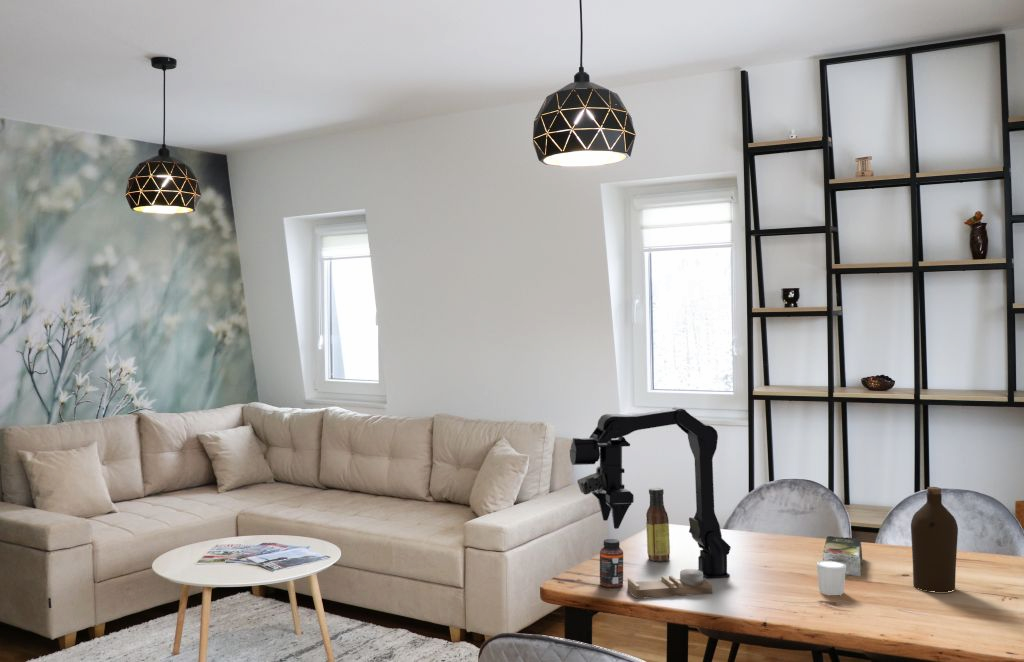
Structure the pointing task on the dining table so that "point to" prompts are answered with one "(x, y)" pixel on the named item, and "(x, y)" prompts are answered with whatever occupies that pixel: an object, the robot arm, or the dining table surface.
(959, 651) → the dining table surface
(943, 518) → the olive oil
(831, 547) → the juice carton
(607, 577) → the supplement bottle
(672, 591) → the wooden slotted rack
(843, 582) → the white cup
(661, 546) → the sauce bottle
